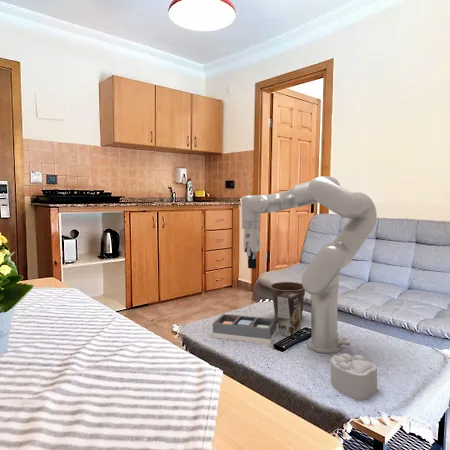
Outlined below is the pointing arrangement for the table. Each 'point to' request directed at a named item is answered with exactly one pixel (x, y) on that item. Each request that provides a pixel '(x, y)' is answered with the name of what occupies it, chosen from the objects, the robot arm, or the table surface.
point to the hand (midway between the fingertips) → (252, 268)
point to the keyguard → (245, 330)
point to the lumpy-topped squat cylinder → (353, 376)
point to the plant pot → (283, 288)
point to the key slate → (244, 323)
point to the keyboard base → (245, 338)
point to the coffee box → (289, 313)
